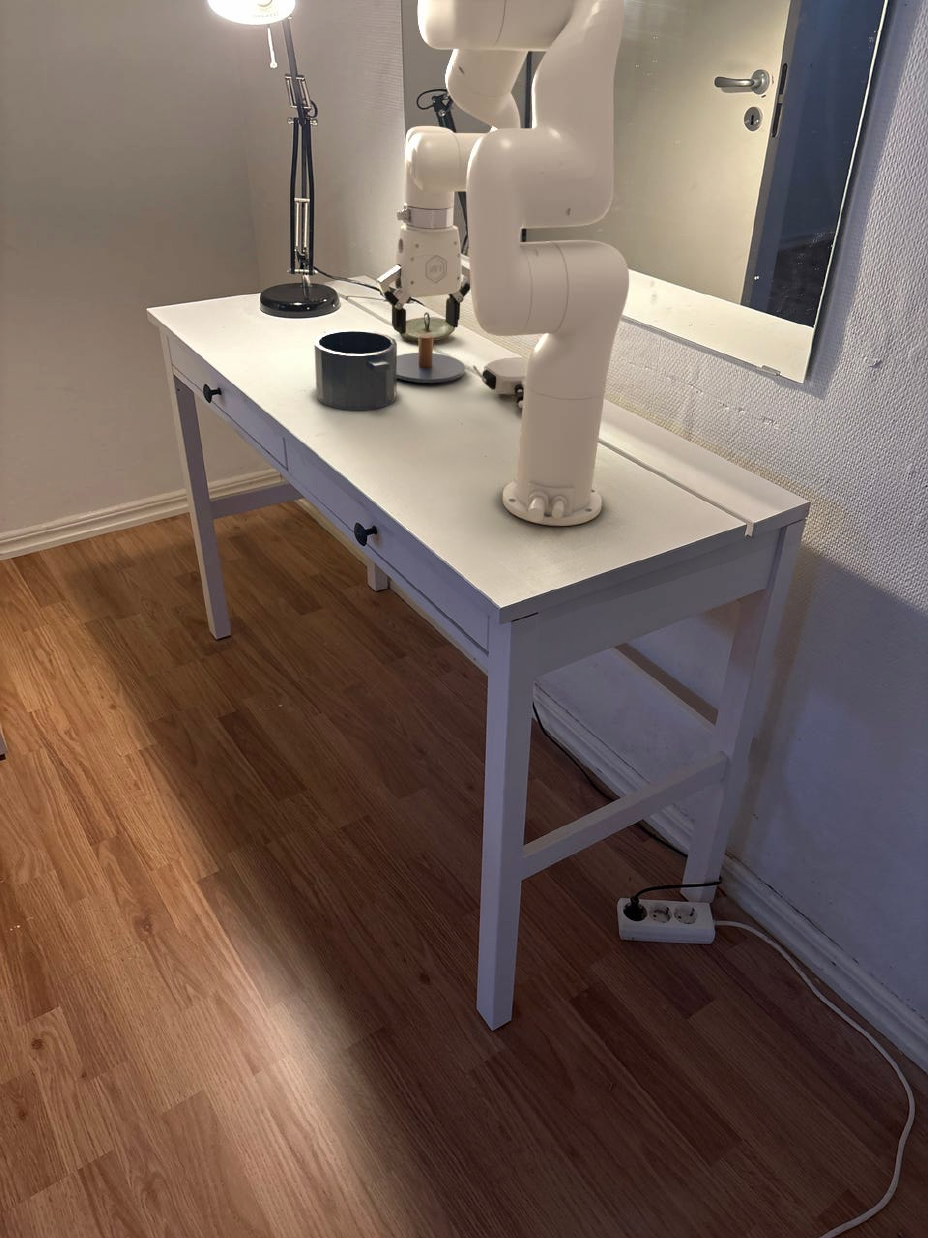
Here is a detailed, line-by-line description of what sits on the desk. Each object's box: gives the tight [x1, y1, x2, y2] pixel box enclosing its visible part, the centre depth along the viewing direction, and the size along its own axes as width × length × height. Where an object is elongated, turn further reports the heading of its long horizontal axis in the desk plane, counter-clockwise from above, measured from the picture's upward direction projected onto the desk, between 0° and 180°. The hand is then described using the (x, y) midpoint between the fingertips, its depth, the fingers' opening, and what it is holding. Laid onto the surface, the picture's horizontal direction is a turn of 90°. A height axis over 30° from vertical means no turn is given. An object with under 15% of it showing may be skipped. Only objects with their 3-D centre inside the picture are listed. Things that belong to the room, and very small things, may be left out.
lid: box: [399, 311, 456, 342], centre depth 171 cm, size 11×10×5 cm
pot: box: [313, 329, 398, 411], centre depth 143 cm, size 12×18×8 cm
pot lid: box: [397, 334, 466, 384], centre depth 154 cm, size 13×13×6 cm
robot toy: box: [472, 356, 529, 409], centre depth 147 cm, size 12×4×15 cm
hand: (425, 328), depth 152 cm, fingers open, 9 cm apart
